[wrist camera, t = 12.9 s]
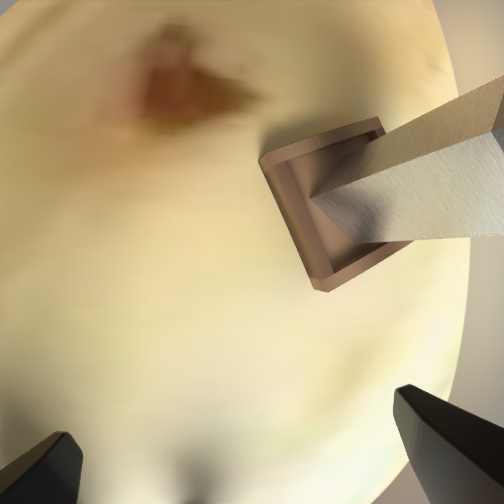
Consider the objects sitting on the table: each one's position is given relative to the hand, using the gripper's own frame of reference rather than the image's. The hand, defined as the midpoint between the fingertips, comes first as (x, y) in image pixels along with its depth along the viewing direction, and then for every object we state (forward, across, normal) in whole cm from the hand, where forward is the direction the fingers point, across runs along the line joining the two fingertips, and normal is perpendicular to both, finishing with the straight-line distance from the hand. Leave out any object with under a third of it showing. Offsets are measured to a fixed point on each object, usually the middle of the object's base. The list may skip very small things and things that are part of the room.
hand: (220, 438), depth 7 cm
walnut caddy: (+15, -8, -3) cm, 17 cm away
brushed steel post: (+14, -8, -3) cm, 17 cm away
